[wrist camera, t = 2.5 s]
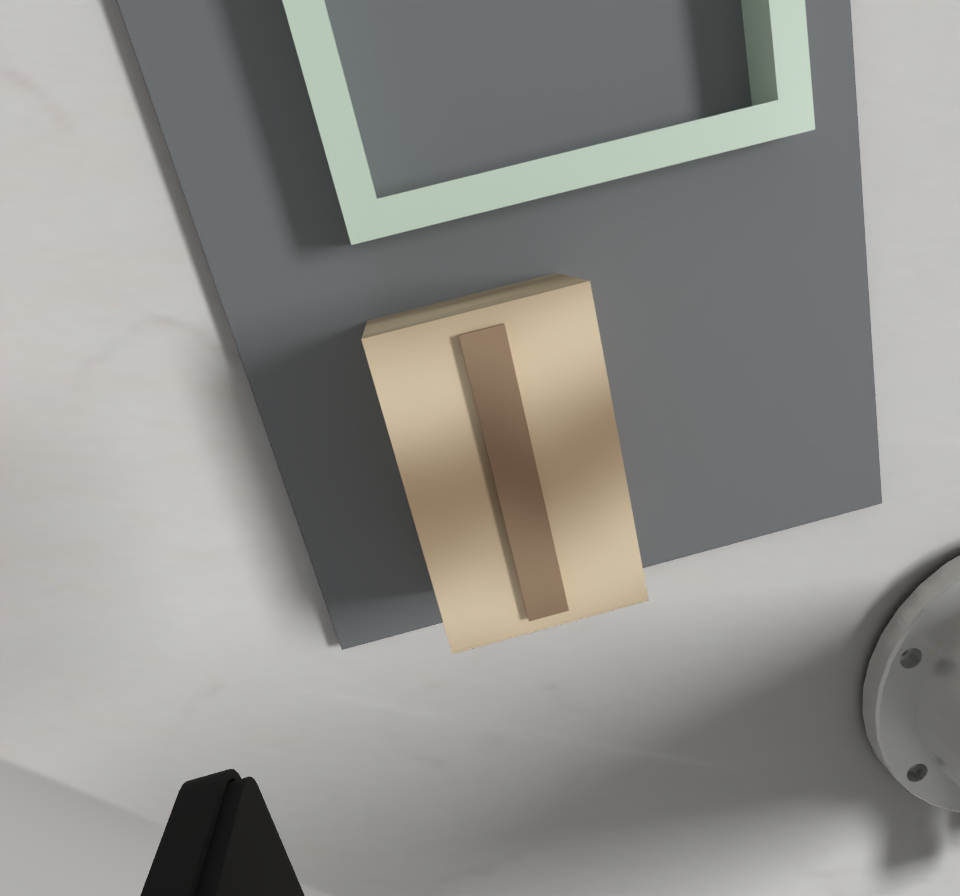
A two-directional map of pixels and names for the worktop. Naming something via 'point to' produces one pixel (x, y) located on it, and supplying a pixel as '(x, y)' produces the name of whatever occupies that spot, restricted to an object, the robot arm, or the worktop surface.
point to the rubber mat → (532, 255)
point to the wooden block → (509, 457)
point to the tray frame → (774, 114)
